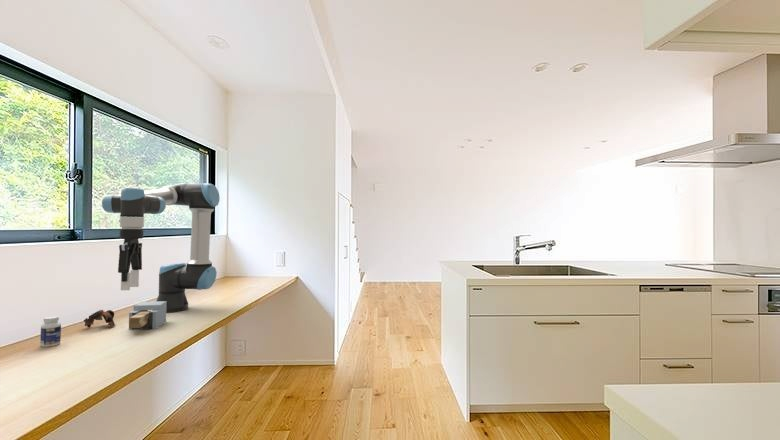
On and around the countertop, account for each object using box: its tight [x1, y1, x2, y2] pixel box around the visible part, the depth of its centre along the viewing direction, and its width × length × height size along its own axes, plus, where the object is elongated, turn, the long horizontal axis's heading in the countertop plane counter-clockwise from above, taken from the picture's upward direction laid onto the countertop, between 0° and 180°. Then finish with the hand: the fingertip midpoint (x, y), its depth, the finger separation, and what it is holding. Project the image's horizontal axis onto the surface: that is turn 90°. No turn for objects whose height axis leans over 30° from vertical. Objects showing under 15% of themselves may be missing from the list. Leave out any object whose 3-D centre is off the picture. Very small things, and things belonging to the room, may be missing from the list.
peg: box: [128, 310, 152, 329], centre depth 154 cm, size 12×4×4 cm, turn 13°
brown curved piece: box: [83, 309, 116, 329], centre depth 158 cm, size 12×10×8 cm
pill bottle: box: [39, 315, 62, 348], centre depth 134 cm, size 5×5×10 cm
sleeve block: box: [128, 301, 167, 331], centre depth 161 cm, size 12×10×9 cm
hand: (129, 288), depth 143 cm, fingers open, 7 cm apart
